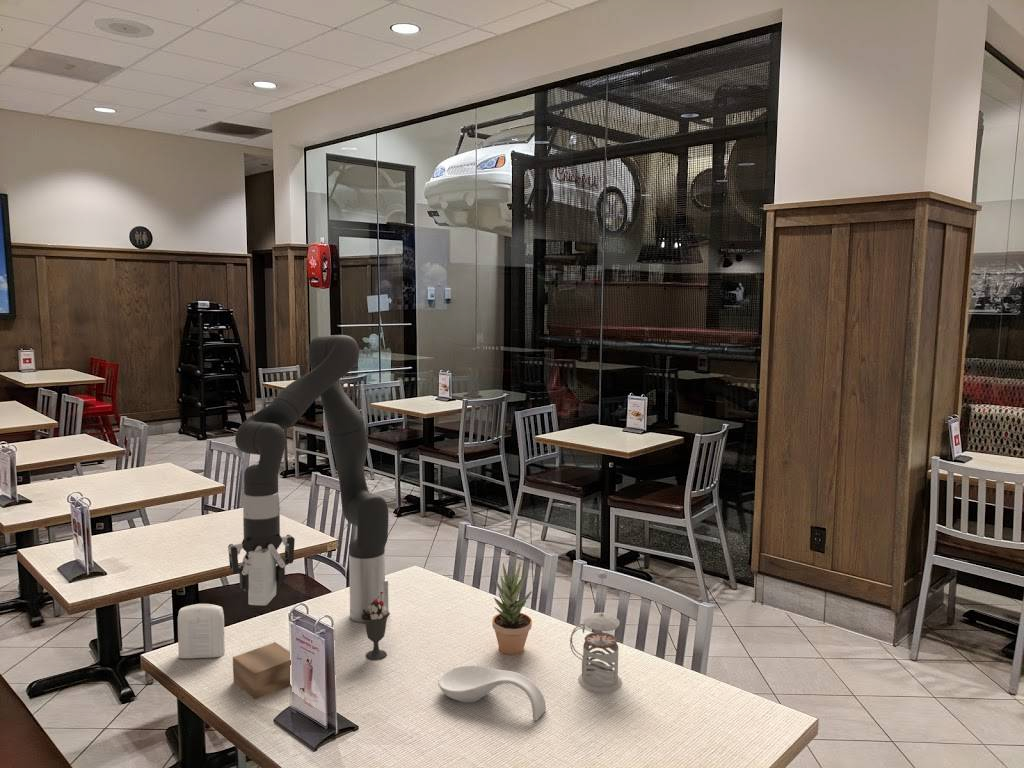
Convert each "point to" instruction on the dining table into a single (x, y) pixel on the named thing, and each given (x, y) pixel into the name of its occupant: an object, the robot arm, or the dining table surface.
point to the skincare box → (261, 577)
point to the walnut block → (262, 670)
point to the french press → (597, 672)
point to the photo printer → (201, 631)
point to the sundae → (375, 627)
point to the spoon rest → (487, 685)
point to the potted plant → (511, 614)
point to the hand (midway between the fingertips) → (262, 586)
